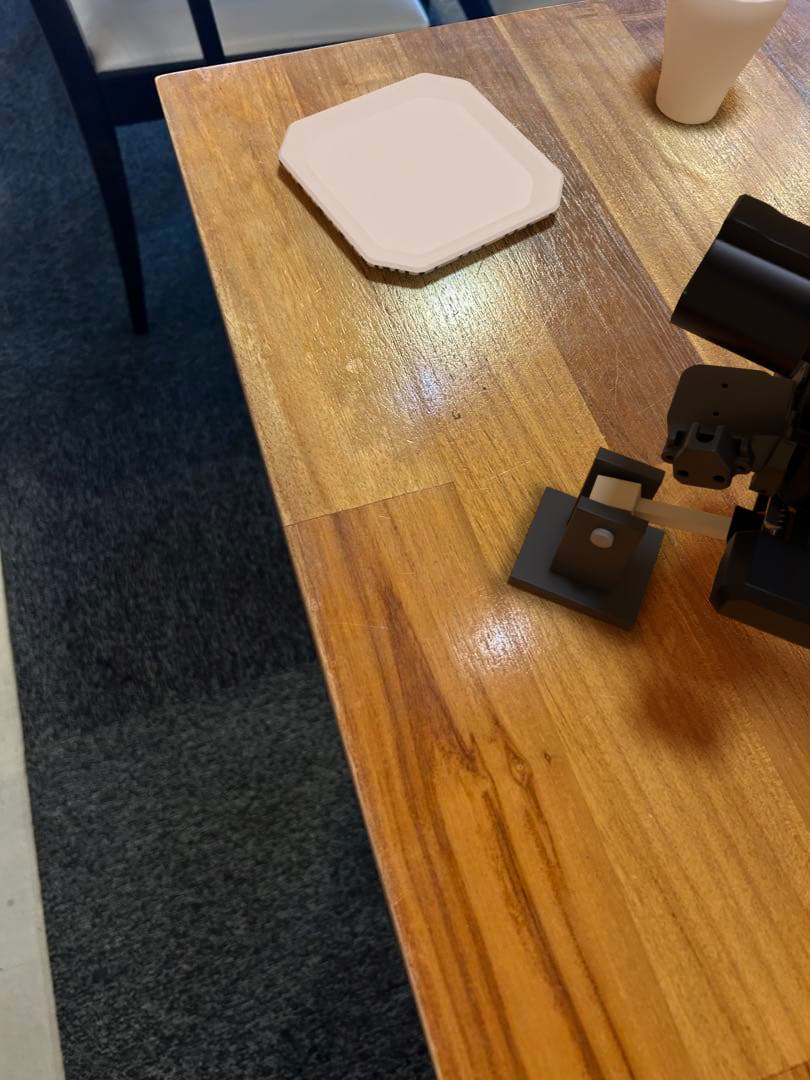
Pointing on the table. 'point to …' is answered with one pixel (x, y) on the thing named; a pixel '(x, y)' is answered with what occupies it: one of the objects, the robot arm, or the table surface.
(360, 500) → the table surface
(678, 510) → the switch lever
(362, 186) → the plate
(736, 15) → the cup
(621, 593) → the switch base
